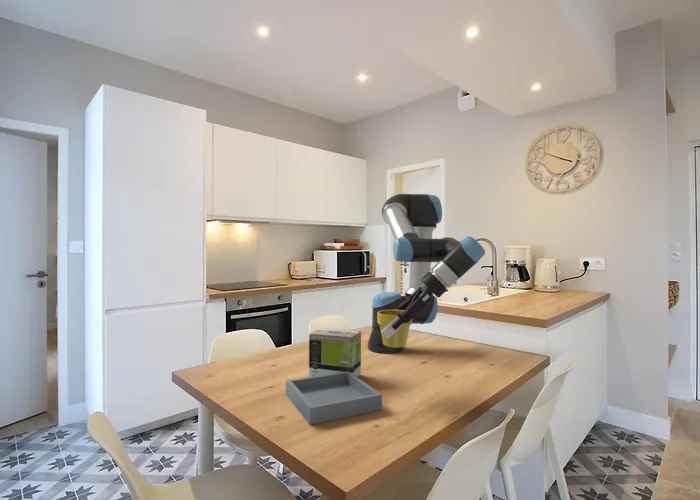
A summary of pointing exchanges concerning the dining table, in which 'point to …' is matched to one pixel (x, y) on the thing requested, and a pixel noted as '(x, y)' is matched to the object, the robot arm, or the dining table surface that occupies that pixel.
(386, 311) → the plant pot
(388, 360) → the dining table surface
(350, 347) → the tea box
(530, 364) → the dining table surface
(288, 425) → the dining table surface
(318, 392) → the serving tray
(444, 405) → the dining table surface
